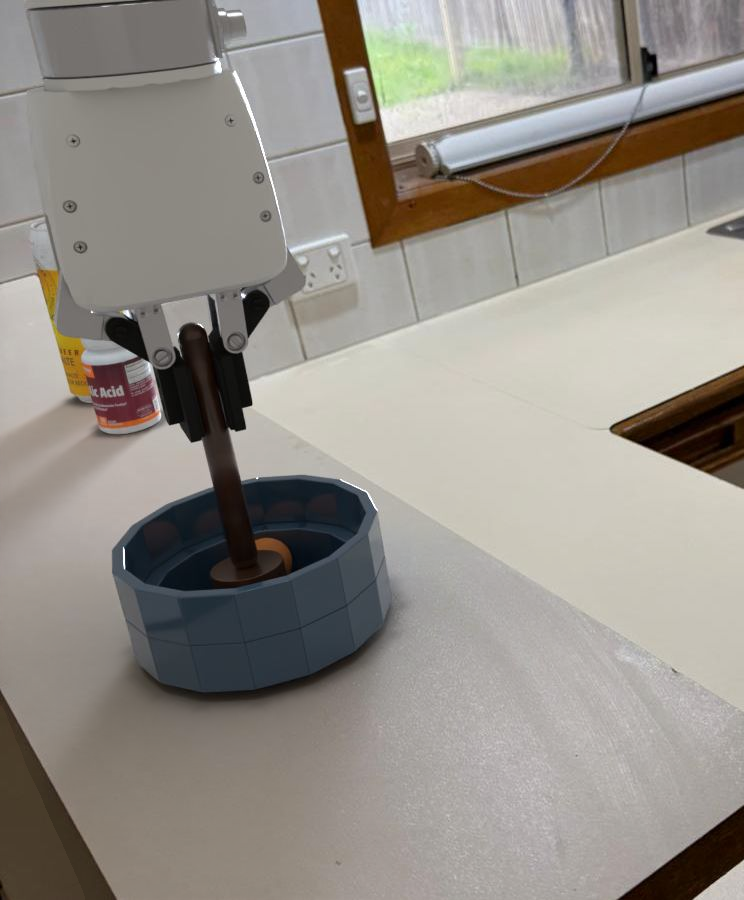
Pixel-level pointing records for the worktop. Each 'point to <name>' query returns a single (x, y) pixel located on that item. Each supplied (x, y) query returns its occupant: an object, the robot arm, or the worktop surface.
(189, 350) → the wooden tamper
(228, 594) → the bowl
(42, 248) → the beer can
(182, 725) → the worktop surface
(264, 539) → the orange ball
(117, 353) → the pill bottle
